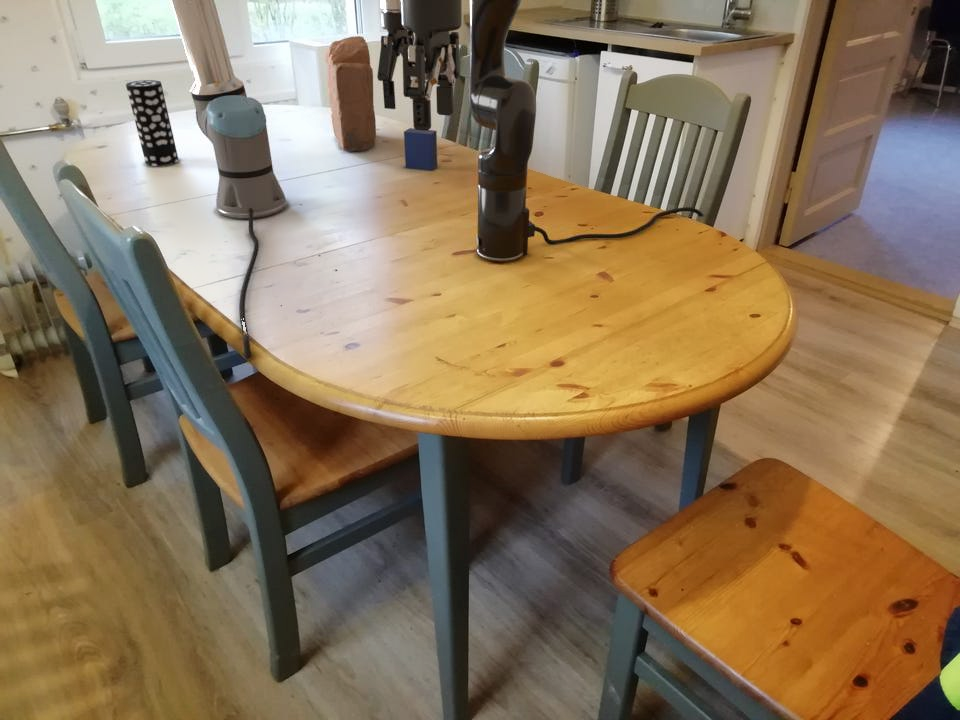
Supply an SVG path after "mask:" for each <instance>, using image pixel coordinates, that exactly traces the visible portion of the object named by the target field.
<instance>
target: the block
mask: <svg viewBox="0 0 960 720" xmlns="http://www.w3.org/2000/svg"><path fill="white" fill-rule="evenodd" d="M437 132H438V131H437V130H435V129H429V130H427V131H424V130H416V129H415V128H414V127H413V128H412V127H409V128H407V129H406V130H404V131H403V142H404V165H405V168H407V169H415V170H424V171H431V172H432V171H433V170H435V169H436V168H438V137H437V134H438V133H437Z"/></svg>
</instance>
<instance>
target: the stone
mask: <svg viewBox="0 0 960 720" xmlns="http://www.w3.org/2000/svg"><path fill="white" fill-rule="evenodd" d="M325 61H326V65H327V89H328V90H327V91H328V98H329V105H330V110H331V115H330V118H331V124H332V130H333V134H334V137H335V139H336V141H337V143H338V146H339V147H340V149H342V150H343V152H357V151H366V150H368V149H370V148H372V147H374V146H376V144H375V143H376V137H377V124H376V114H375V106H374V70H373V68H372V66H371V57H370V50H369V45H368V43H367V42H366V39H365V38H364V36H361V35H357V36H349V37H345V38H343V39H339V40H335V41H332V42H331V43H330V45H329V47H328V48H327V50H326V54H325Z"/></svg>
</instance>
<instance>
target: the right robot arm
mask: <svg viewBox="0 0 960 720" xmlns="http://www.w3.org/2000/svg"><path fill="white" fill-rule="evenodd" d="M521 2H522V0H468V4H469V28H470V29H469V30H470V31H469V33H470V34H469V35H470V59H469V60H470V62H469V63H470V64H469V65H470V66H469V89H468V90H469V91H468V100H469V108H470V113H471V116H472V118H473V120H474V121H475V123H477V124H478V125H479V126H481V127H483V128H487V129H489V130H492V131H493V130H494V131H495V141H494V146H492V147H488V148H485V149H482V150H481V151H480V152H479V154H478V159H477V160H478V161H477V232H476V234H475V238H476V239H475V240H476V246H477V247H476V254H477V256H478V257H479V258H481V259H483V260H485V261H489V262H492V263H510V262H515V261H518V260H520V259H521V258H523V257H524V256H528V248H529V247H528V246H529V238H534V237H535V233H536V232H537V233H540V234H541V235H542V237H543V240H544V242H545V243H547V244H549V245H559V244H566V243H570V242H575V241H578V240H579V241H580V240H583V239H584V240H585V239H587V240H588V239H620V238H621V239H622V238H627V237H630V236H634V235H636V234H638V233H640V232H642V231H644V230H646V229H648V228H649V227H651V226H652V225H654V223H656V221H657V219H659V218H661V217H664V216H668V215H673V214H677V213H682V212H692V213H694V214H696V215H698V216H699V217H703V216H704V214H703V213H702V211H701V210H699V209H697V208H695V207H691V206H690V207H689V206H685V207H684V206H683V207H677V208H672V209H668V210H665V211H661V212H659V213H656V214H655V215H654V216H653V217H652V218H651V219H650V220H649V221H648V222H647V223H645V224H643V225H641V226H639V227H637V228H635V229H632V230H630V231H625V232H620V233H585V234H578V235H573V236H570V237H566V238H563V239H559V240H554V239H551V238H549V236H548V233H547V232H546V231H545V229H543V228H541V227H539V226H536V224H535V223H533V222H532V221H531V220H530V209H529V208H528V207H527V206H526V203H527V185H528V183H527V182H528V164H529V160H530V157H531V154H532V153H533V147H534V136H535V127H536V126H535V125H536V117H537V98H536V94H535V93H536V92H535V90H534V87H533V86H532V85H531V84H530V83H529V82H527V81H526V80H523V79H519V78H514V77H511V76H506V70H505V69H506V68H505V49H506V47H505V46H506V39H507V37H508V33H509V30H510V28H511V26H512V24H513V21H514V19H515V17H516V16H517V13H518V10H519V8H520V5H521ZM401 15H402V26H403V27H404V28H405V29H407V30H412V31H413V32H414V44H413V45H403V49H402V54H403V57H402V83H403V84H402V89H403V90H402V91H403V92H402V93H403V97H405V98H409V99H410V100H412V121H413V122H412V123H413V128H414V129H416V130H424V131H427V130H431V128H432V105H431V104H432V103H431V101H432V100H431V95H432V90H433V87H434V86H435V85H437V86H436V89H435V90H436V91H435V93H436V113H437V114H438V115H439V116H448V117H450V116H451V115H453V114H454V87H455V86H456V79H457V80H458V79H460V76H461V73H460V72H461V71H460V68H461V67H460V35H459V32H458V31H457V30H459V29H461V27H462V21H463V20H462V0H401ZM410 78H411V80H412V82H411V87H410Z"/></svg>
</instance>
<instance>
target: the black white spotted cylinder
mask: <svg viewBox="0 0 960 720" xmlns="http://www.w3.org/2000/svg"><path fill="white" fill-rule="evenodd" d="M125 87H126V91H127V95H128V99H129V103H130V107H131V110H132V115H133V118H134V122H135V123H134V124H135V127H136V130H137V134H138V139H139V143H140V146H141V150H142V155H143V158H144V163H145V164H146V165H147V166H151V167H164V166H170V165H174V164H176V163H178V162H179V155H178V150H177V146H176V142H175V137H174V133H173V128H172V125H171V121H170V116H169V111H168V107H167V103H166V98H165V93H164V89H163V84H162V81H161V80H155V79H154V80H153V79H151V80H150V79H145V80H144V79H141V80H134V81H130V82H129V81H128V82H127V83H126V84H125Z"/></svg>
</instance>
